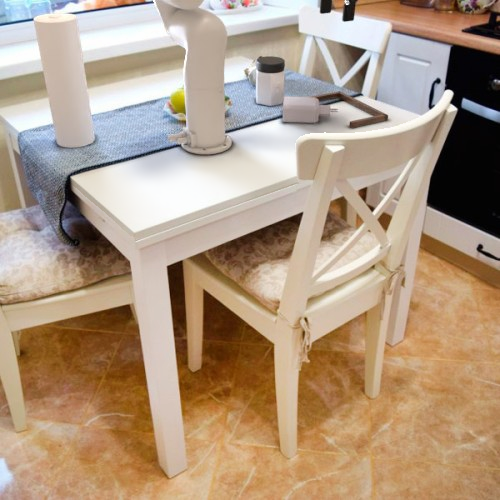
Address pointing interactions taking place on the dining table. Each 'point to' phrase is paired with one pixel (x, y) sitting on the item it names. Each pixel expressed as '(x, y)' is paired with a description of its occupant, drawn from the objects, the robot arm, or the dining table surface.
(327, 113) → the charger
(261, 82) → the jar
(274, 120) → the dining table surface
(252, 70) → the ceramic sculpture
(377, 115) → the brown bent bar
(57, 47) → the cylinder container
